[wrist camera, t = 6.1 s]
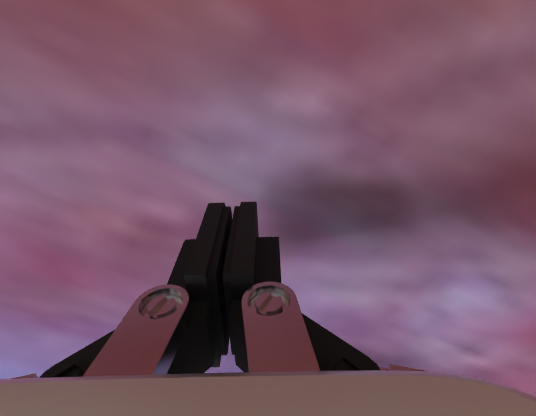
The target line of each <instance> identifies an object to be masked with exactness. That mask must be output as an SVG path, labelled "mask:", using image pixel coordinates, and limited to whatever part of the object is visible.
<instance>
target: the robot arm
mask: <svg viewBox="0 0 536 416" xmlns="http://www.w3.org/2000/svg"><path fill="white" fill-rule="evenodd" d="M229 338H230V342H231V350H232V355H235V361H236V365H237V366H238V367H239V368H240V369H241V370H242V371H243V372H240V373H204V372H205V371H207V370H208V369H209V368H210V367H220V360H221V355H227V353H228V346H229ZM0 416H536V397H534V396H532V395H530V394H527V393H524V392H522V391H519V390H517V389H514V388H511V387H507V386H504V385H500V384H497V383H494V382H491V381H487V380H483V379H478V378H473V377H468V376H463V375H458V374H450V373H440V372H430V371H424V370H418V369H413V368H407V367H401V366H396V365H390V368H389V369H386V368H380V367H378V366H377V364H376V363H375V362H374V361H372V360H371V359H370V358H369V357H368V356H366V355H365V354H363V353H362V352H360V351H358V350H357V349H355V348H354V347H352V346H351V345H349V344H348V343H346V342H345V341H343V340H342V339H340V338H339V337H337V336H336V335H334V334H333V333H331V332H329V331H328V330H326V329H325V328H323V327H322V326H320V325H319V324H317V323H316V322H314V321H313V320H311V319H310V318H308V317H307V316H305V315H304V314H302V313H301V310H300V307H299V304H298V301H297V298H296V295H295V293H294V292H293V290H292V289H290V288H289V287H288V286H286V285H284V284H282V283H281V269H280V251H279V237H259V235H258V218H257V203H256V202H241V204H240V206H235V208H234V214H233V219H232V213H231V207H225V203H209V204H208V206H207V209H206V212H205V215H204V218H203V220H202V223H201V226H200V229H199V232H198V235H197V238H196V239H190V240H185V241H184V243H183V246H182V248H181V251H180V253H179V256H178V258H177V261H176V263H175V266H174V268H173V271H172V273H171V276H170V278H169V281H168V283H167V285H161V286H157V287H154V288H152V289H149V290H147V291H146V292H144V293H143V294H141V295H140V296H139V297H138V298H137V300H136V301H135V302H134V304H133V305H132V306H131V308H130V309H129V311H128V312H127V314H126V315H125V316H124V318H123V319H122V321H121V322H120V324H119V325H118V326H117V328H116V329H115V330H114V331H112V332H110V333H109V334H107V335H105V336H103V337H102V338H100V339H98V340H97V341H95V342H93V343H91V344H90V345H88V346H86V347H85V348H83V349H81V350H79V351H78V352H76V353H74V354H73V355H71V356H69V357H67V358H66V359H64V360H62V361H61V362H59V363H57V364H55V365H54V366H52V367H51V368H50V369H48V370H47V371H45V372H44V373H43V374H42V375H41V376H40V377H39V378H38V377H37V375H36V373H35V374H30V375H26V376H21V377H17V378H12V379H0Z"/></svg>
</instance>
